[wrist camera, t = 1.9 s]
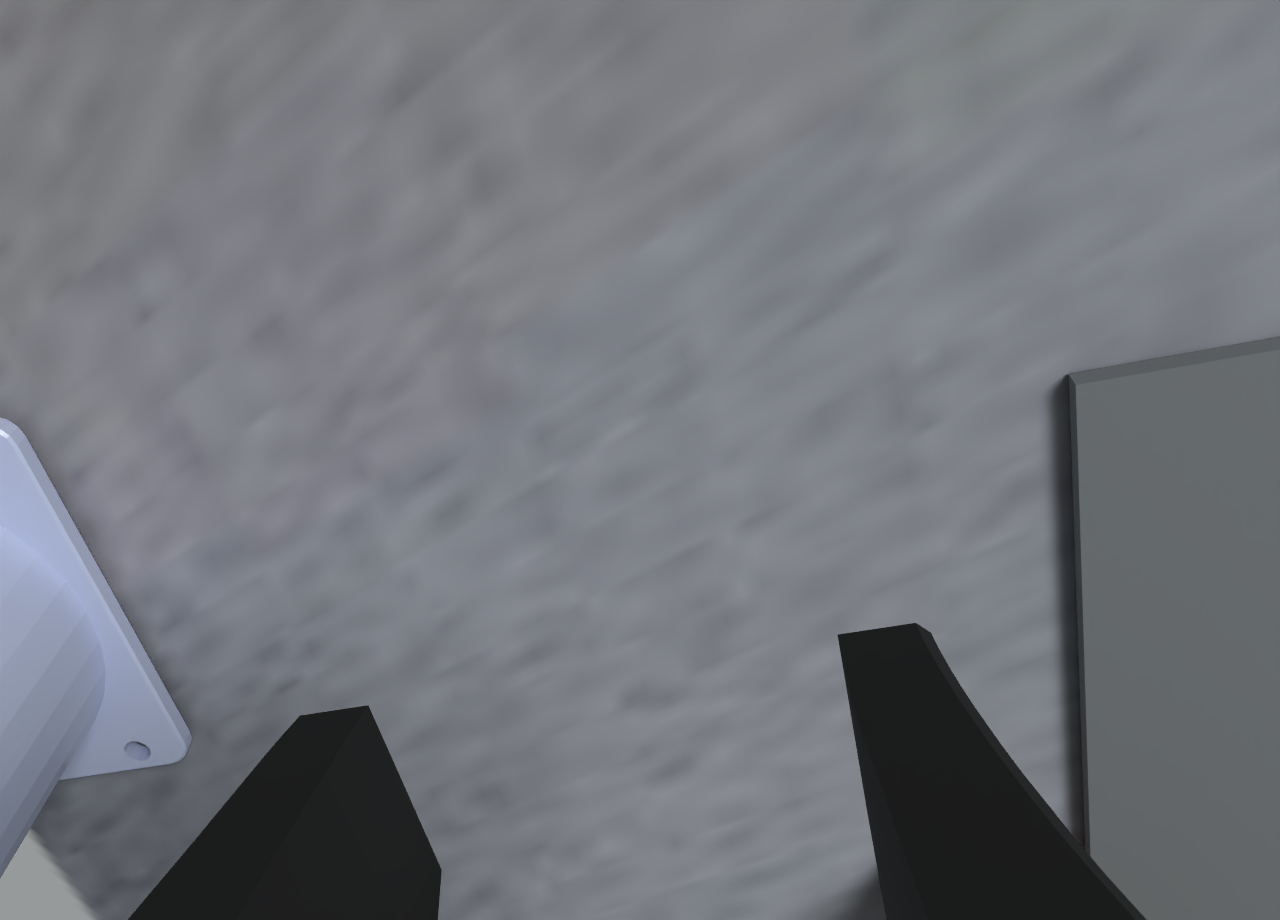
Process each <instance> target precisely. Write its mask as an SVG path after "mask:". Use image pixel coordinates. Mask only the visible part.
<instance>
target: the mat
mask: <svg viewBox="0 0 1280 920" xmlns="http://www.w3.org/2000/svg"><path fill="white" fill-rule="evenodd" d="M1069 399H1070V428H1071V457H1072V485H1073V514H1074V543H1075V572H1076V601H1077V630H1078V659H1079V688H1080V717H1081V746H1082V774H1083V803H1084V832H1085V851H1086V852H1087V853H1088V854H1089V855H1090V857H1091V858H1092V859H1093V860H1094V861H1095V862H1096V864H1097V865H1098V866H1099V867H1100V868H1101V869H1102V871H1103V872H1104V873H1105V874H1106V875H1107V876H1108V878H1109V879H1110V880H1111V881H1112V882H1113V883H1114V884H1115V885H1116V886H1117V887H1118V889H1119V890H1120V891H1121V892H1122V893H1123V894H1124V895H1125V896H1126V897H1127V899H1128V900H1129V901H1130V902H1131V903H1132V904H1133V905H1134V906H1135V907H1136V908H1137V910H1138V911H1139V912H1140V913H1141V914H1142V915H1143V916H1144V917H1145V918H1146V920H1280V337H1276V338H1270V339H1265V340H1259V341H1253V342H1248V343H1242V344H1236V345H1231V346H1225V347H1219V348H1213V349H1208V350H1202V351H1196V352H1191V353H1185V354H1179V355H1174V356H1168V357H1162V358H1157V359H1151V360H1145V361H1139V362H1134V363H1128V364H1122V365H1117V366H1111V367H1105V368H1100V369H1094V370H1088V371H1083V372H1077V373H1071V374H1069Z"/></svg>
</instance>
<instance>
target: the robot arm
mask: <svg viewBox="0 0 1280 920" xmlns="http://www.w3.org/2000/svg"><path fill="white" fill-rule="evenodd" d="M838 640H839V645H840V651H841V657H842V663H843V669H844V675H845V681H846V687H847V693H848V699H849V705H850V711H851V717H852V723H853V729H854V735H855V741H856V747H857V753H858V759H859V765H860V771H861V777H862V783H863V789H864V795H865V801H866V807H867V813H868V818H869V824H870V829H871V835H872V841H873V846H874V852H875V857H876V863H877V868H878V874H879V879H880V885H881V890H882V896H883V902H884V907H885V913H886V918H887V920H1146V918H1145V917H1144V916H1143V915H1142V914H1141V913H1140V912H1139V911H1138V910H1137V908H1136V907H1135V906H1134V905H1133V904H1132V903H1131V902H1130V901H1129V900H1128V899H1127V897H1126V896H1125V895H1124V894H1123V893H1122V892H1121V891H1120V890H1119V889H1118V887H1117V886H1116V885H1115V884H1114V883H1113V882H1112V881H1111V880H1110V879H1109V878H1108V876H1107V875H1106V874H1105V873H1104V872H1103V871H1102V869H1101V868H1100V867H1099V866H1098V865H1097V864H1096V862H1095V861H1094V860H1093V859H1092V858H1091V857H1090V855H1089V854H1088V853H1087V852H1086V851H1085V850H1084V848H1083V847H1082V846H1081V845H1080V844H1079V843H1078V841H1077V840H1076V839H1075V838H1074V837H1073V835H1072V834H1071V833H1070V832H1069V830H1068V829H1067V828H1066V827H1065V825H1064V824H1063V823H1062V822H1061V820H1060V819H1059V818H1058V817H1057V815H1056V814H1055V813H1054V812H1053V810H1052V809H1051V808H1050V807H1049V806H1048V804H1047V803H1046V802H1045V801H1044V799H1043V798H1042V797H1041V796H1040V794H1039V793H1038V792H1037V791H1036V789H1035V788H1034V787H1033V786H1032V784H1031V783H1030V782H1029V781H1028V779H1027V778H1026V777H1025V776H1024V774H1023V773H1022V772H1021V770H1020V769H1019V768H1018V766H1017V765H1016V764H1015V763H1014V761H1013V760H1012V759H1011V757H1010V756H1009V755H1008V753H1007V752H1006V751H1005V749H1004V748H1003V747H1002V745H1001V744H1000V742H999V741H998V740H997V738H996V737H995V735H994V734H993V732H992V731H991V730H990V728H989V727H988V725H987V724H986V723H985V721H984V720H983V718H982V717H981V715H980V714H979V713H978V711H977V710H976V708H975V707H974V705H973V704H972V702H971V701H970V699H969V698H968V696H967V695H966V693H965V692H964V690H963V689H962V687H961V686H960V684H959V682H958V681H957V679H956V677H955V676H954V674H953V673H952V671H951V669H950V668H949V666H948V664H947V662H946V661H945V659H944V657H943V655H942V654H941V652H940V650H939V648H938V646H937V644H936V642H935V640H934V638H933V636H932V634H931V633H930V632H929V631H927V630H926V629H924V628H923V627H921V626H920V625H918V624H916V623H912V624H906V625H899V626H892V627H886V628H879V629H872V630H866V631H859V632H852V633H846V634H839V635H838ZM191 741H192V737H191V734H190V731H189V729H188V727H187V726H186V724H185V722H184V720H183V718H182V717H181V715H180V713H179V711H178V709H177V708H176V706H175V704H174V702H173V700H172V699H171V697H170V695H169V693H168V691H167V690H166V688H165V686H164V684H163V682H162V681H161V679H160V677H159V675H158V673H157V672H156V670H155V668H154V666H153V664H152V663H151V661H150V659H149V657H148V655H147V654H146V652H145V650H144V648H143V646H142V645H141V643H140V641H139V639H138V637H137V636H136V634H135V632H134V630H133V628H132V627H131V625H130V623H129V621H128V619H127V618H126V616H125V614H124V612H123V610H122V609H121V607H120V605H119V603H118V601H117V600H116V598H115V596H114V594H113V592H112V591H111V589H110V587H109V585H108V583H107V582H106V580H105V578H104V576H103V575H102V573H101V571H100V569H99V567H98V566H97V564H96V562H95V560H94V558H93V557H92V555H91V553H90V551H89V549H88V548H87V546H86V544H85V542H84V540H83V539H82V537H81V535H80V533H79V531H78V530H77V528H76V526H75V524H74V522H73V521H72V519H71V517H70V515H69V513H68V512H67V510H66V508H65V506H64V504H63V503H62V501H61V499H60V497H59V495H58V494H57V492H56V490H55V488H54V486H53V485H52V483H51V481H50V479H49V477H48V476H47V474H46V472H45V470H44V468H43V467H42V465H41V463H40V461H39V459H38V458H37V456H36V454H35V452H34V450H33V449H32V447H31V445H30V443H29V441H28V440H27V438H26V436H25V435H24V434H23V432H22V431H21V430H20V429H19V427H18V426H16V425H15V424H13V423H12V422H10V421H9V420H7V419H3V418H0V878H1V876H2V874H3V872H4V871H5V869H6V868H7V866H8V864H9V863H10V861H11V859H12V857H13V856H14V854H15V853H16V851H17V849H18V848H19V846H20V844H21V843H22V841H23V839H24V837H25V836H26V834H27V833H28V831H29V829H30V828H31V826H32V824H33V823H34V821H35V819H36V818H37V816H38V814H39V813H40V811H41V809H42V808H43V806H44V804H45V803H46V801H47V799H48V798H49V796H50V794H51V793H52V791H53V789H54V788H55V786H56V784H57V783H58V781H59V780H65V779H71V778H78V777H85V776H92V775H98V774H105V773H112V772H119V771H125V770H132V769H139V768H146V767H152V766H159V765H166V764H172V763H175V762H178V761H180V760H181V759H182V758H183V757H185V755H186V753H187V751H188V749H189V747H190V744H191ZM137 742H140V743H143V744H145V745H146V746H143V745H140V744H138V743H137ZM440 883H441V868H440V865H439V863H438V861H437V859H436V856H435V854H434V852H433V850H432V847H431V845H430V843H429V841H428V838H427V836H426V834H425V832H424V829H423V827H422V825H421V823H420V820H419V818H418V816H417V814H416V811H415V809H414V807H413V805H412V802H411V800H410V798H409V796H408V793H407V791H406V789H405V787H404V784H403V782H402V780H401V778H400V776H399V773H398V771H397V769H396V767H395V764H394V762H393V760H392V758H391V755H390V753H389V751H388V749H387V746H386V744H385V742H384V740H383V737H382V735H381V733H380V731H379V728H378V726H377V724H376V722H375V719H374V717H373V715H372V713H371V710H370V708H369V706H361V707H355V708H348V709H341V710H335V711H328V712H321V713H315V714H308V715H301V716H299V717H298V719H297V720H296V721H295V722H294V723H293V724H292V725H291V726H290V728H289V729H288V730H287V731H286V732H285V733H284V734H283V735H282V736H281V738H280V739H279V740H278V741H277V742H276V743H275V745H274V746H273V747H272V748H271V749H270V750H269V752H268V753H267V754H266V755H265V756H264V758H263V759H262V760H261V761H260V762H259V764H258V765H257V766H256V767H255V768H254V770H253V771H252V772H251V773H250V774H249V776H248V777H247V778H246V779H245V780H244V782H243V783H242V784H241V785H240V786H239V788H238V789H237V790H236V791H235V792H234V794H233V795H232V796H231V797H230V799H229V800H228V801H227V802H226V803H225V805H224V806H223V807H222V808H221V809H220V811H219V812H218V813H217V814H216V815H215V817H214V818H213V819H212V820H211V822H210V823H209V824H208V825H207V826H206V828H205V829H204V830H203V831H202V832H201V834H200V835H199V836H198V837H197V838H196V840H195V841H194V842H193V843H192V844H191V846H190V847H189V848H188V849H187V850H186V851H185V853H184V854H183V855H182V856H181V857H180V859H179V860H178V861H177V862H176V863H175V865H174V866H173V867H172V868H171V869H170V870H169V872H168V873H167V874H166V875H165V876H164V878H163V879H162V880H161V881H160V882H159V883H158V885H157V886H156V887H155V888H154V889H153V891H152V892H151V893H150V894H149V895H148V896H147V898H146V899H145V900H144V901H143V902H142V904H141V905H140V906H139V907H138V908H137V909H136V911H135V912H134V913H133V914H132V915H131V917H130V918H129V919H128V920H438V909H439V896H440Z"/></svg>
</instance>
